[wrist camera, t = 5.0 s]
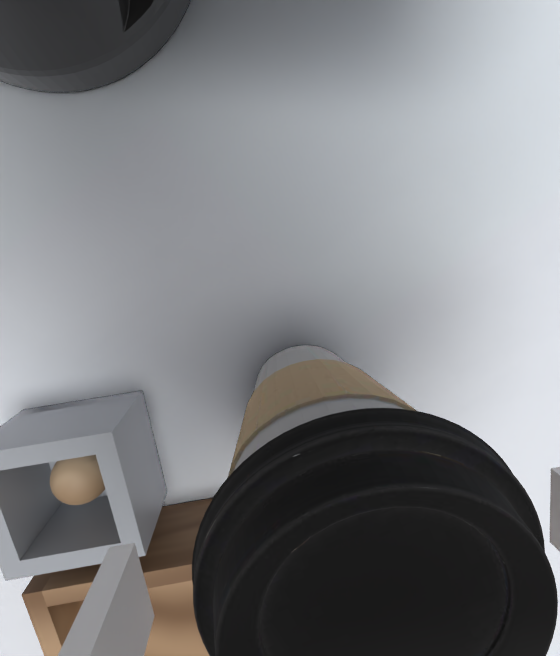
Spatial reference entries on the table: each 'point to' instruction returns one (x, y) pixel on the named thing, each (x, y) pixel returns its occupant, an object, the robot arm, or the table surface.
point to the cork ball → (77, 480)
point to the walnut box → (161, 580)
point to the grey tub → (87, 519)
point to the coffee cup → (366, 529)
